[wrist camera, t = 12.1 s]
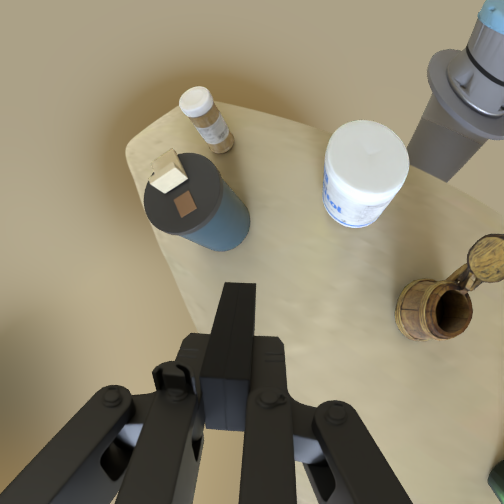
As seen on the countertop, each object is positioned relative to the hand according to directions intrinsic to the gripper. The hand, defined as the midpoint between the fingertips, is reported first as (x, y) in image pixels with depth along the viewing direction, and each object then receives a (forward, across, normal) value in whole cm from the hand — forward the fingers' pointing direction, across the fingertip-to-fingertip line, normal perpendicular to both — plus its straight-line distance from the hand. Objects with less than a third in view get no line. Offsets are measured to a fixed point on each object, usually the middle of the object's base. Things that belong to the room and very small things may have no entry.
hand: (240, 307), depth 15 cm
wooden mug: (+22, +26, -11) cm, 36 cm away
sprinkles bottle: (+40, -6, +8) cm, 41 cm away
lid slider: (+21, -10, +5) cm, 23 cm away
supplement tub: (+31, +15, +1) cm, 34 cm away
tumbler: (+33, -5, -4) cm, 33 cm away
